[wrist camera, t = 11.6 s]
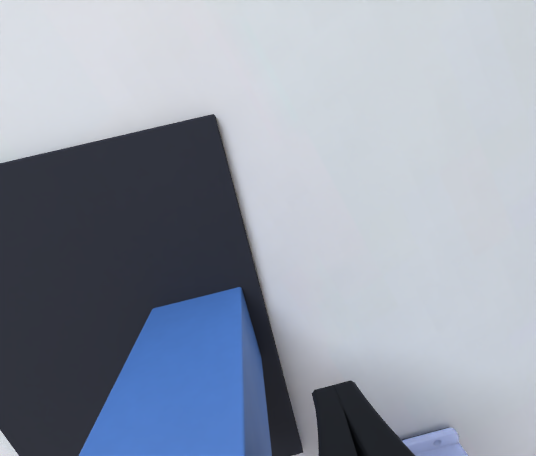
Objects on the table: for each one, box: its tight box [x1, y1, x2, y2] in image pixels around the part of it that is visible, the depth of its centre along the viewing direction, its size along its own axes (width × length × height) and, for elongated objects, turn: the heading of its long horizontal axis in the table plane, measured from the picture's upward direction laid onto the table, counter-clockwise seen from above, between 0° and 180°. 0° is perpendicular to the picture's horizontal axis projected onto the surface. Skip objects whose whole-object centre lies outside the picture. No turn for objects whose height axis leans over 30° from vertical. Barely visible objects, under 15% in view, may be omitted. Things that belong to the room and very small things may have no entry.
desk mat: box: [0, 114, 303, 456], centre depth 15 cm, size 15×20×1 cm
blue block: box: [79, 287, 272, 456], centre depth 11 cm, size 4×4×8 cm
